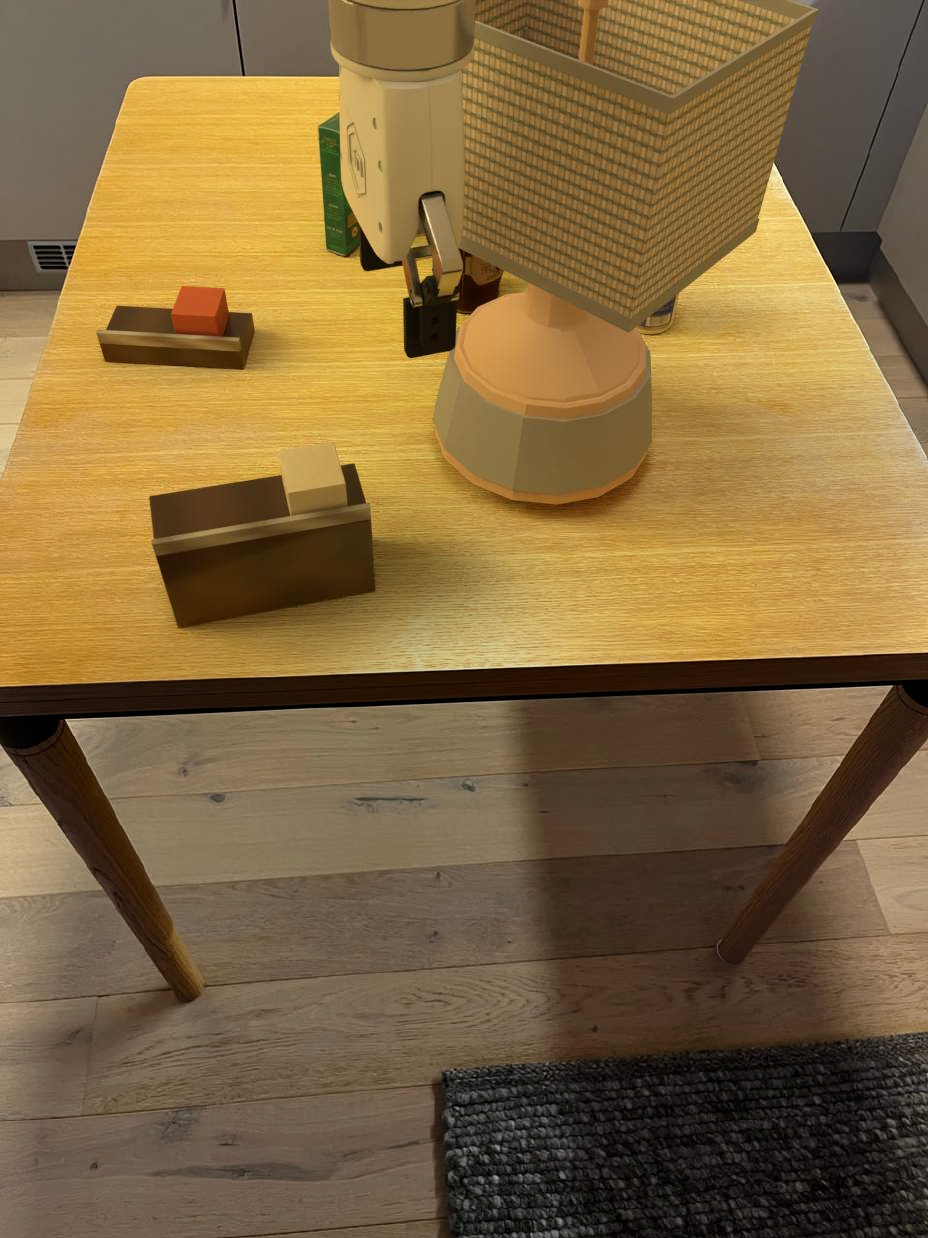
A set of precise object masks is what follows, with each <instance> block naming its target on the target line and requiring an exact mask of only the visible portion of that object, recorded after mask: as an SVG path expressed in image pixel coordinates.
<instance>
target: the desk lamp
mask: <svg viewBox="0 0 928 1238" xmlns="http://www.w3.org/2000/svg"><path fill="white" fill-rule="evenodd" d="M818 12H819V8H817V7H813V6H810V5H806V4H803V3H800V2H797V1H794V0H476V5H475V31H474V55H473V58H472V60H471V62H470V63H469V64H468V65H467V66H466V67H465V68H463V69H461V81H462V98H463V112H464V114H463V121H464V162H465V188H464V219H463V231H462V239H461V243H460V246H459V247H458V248H460V249H462V250H464V251H466V252H468V253H470V254H472V255H474V256H476V257H478V258H480V259H482V260H484V261H486V262H488V263H490V264H492V265H494V266H496V267H498V268H500V269H502V270H504V272H506V273H508V274H509V275H512V276H514V277H516V278H518V279H520V280H522V281H524V282H526V283H528V288H527V291H521V292H513V293H507V294H504V295H501V296H499V298H497V299H495V300H492V301H490V302H488V303H486V304H484V305H481V306H479V307H478V308H477V309H476V310H475V311H474V312H473V313H471V314H470V315H469V316H468V317H467V318H466V319H465V320H464V321H463V322H462V323H461V325H460V326H459V327H458V328H457V329H456V345H455V348H454V349H453V350H451V351H448V354H447V358H446V362H445V365H444V368H443V372H442V375H441V379H440V384H439V387H438V391H437V394H436V400H435V404H434V405H435V406H434V411H433V415H432V423H433V425H434V428H433V432H434V435H435V438H436V439H437V440H436V441H437V443H438V445H439V447H440V450H441V453H442V455H443V457H444V459H445V461H446V462H447V463H448V464H450V465H451V466H452V467H453V468H454V469H456V470H457V471H458V472H459V473H460V474H461V475H462V476H463V477H465V479H467V480H468V481H469V482H470V483H471V484H472V485H474V486H477V487H480V488H482V489H485V490H487V491H489V492H491V493H494V494H497V495H499V496H502V497H504V498H507V499H509V500H512V501H518V502H528V503H539V504H548V505H562V504H568V503H572V502H578V501H583V500H584V501H585V500H588V499H595V498H599V497H601V496H603V495H605V494H606V493H608V492H610V491H612V490H613V489H615V488H617V487H618V486H620V485H622V484H623V483H626V482H627V481H629V480H630V479H632V478H633V476H634V474H635V473H636V472H637V470H638V469H639V467H640V466H641V465H642V462H643V461H644V459H645V458H646V457H647V455H648V453H649V448H650V446H651V445H652V443H653V396H652V362H651V357H652V356H651V351H650V349H649V347H648V346H647V343H646V341H645V339H644V338H643V337H642V335H641V333H639V332H638V330H637V329H636V327H637V326H638V325H639V324H640V323H642V322H643V321H644V320H645V319H647V318H648V317H649V316H650V315H652V314H653V313H654V312H656V311H657V310H658V309H659V308H661V307H662V306H663V305H664V304H666V303H667V302H668V301H669V300H671V299H672V298H673V297H674V296H676V295H677V294H678V293H679V294H680V293H681V292H682V291H683V290H684V289H687V287H688V286H690V285H691V284H692V283H693V282H695V281H696V280H697V279H699V278H700V277H701V276H702V275H703V274H705V273H706V272H708V270H710V269H711V268H713V267H714V266H715V265H716V264H718V263H719V262H720V261H722V259H725V257H726V256H728V255H729V254H730V253H731V252H733V251H734V250H735V249H737V248H738V247H739V246H740V245H741V244H743V243H744V242H745V241H747V240H748V239H749V238H750V237H752V236H753V235H754V234H755V233H756V232H757V229H758V226H759V222H760V217H759V216H760V213H761V209H762V206H763V203H764V198H765V194H766V191H767V188H768V185H769V181H770V177H771V174H772V170H773V167H774V163H775V159H776V156H777V153H778V148H779V146H780V141H781V138H782V134H783V132H784V127H785V124H786V122H787V121H786V120H787V117H788V113H789V110H790V106H791V102H792V98H793V95H794V92H795V88H796V84H797V81H798V77H799V74H800V71H801V67H802V63H803V60H804V57H805V52H806V49H807V46H808V42H809V39H810V34H811V31H812V29H813V28H812V27H813V26H814V25H815V24H816V20H817V16H818Z"/></svg>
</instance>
